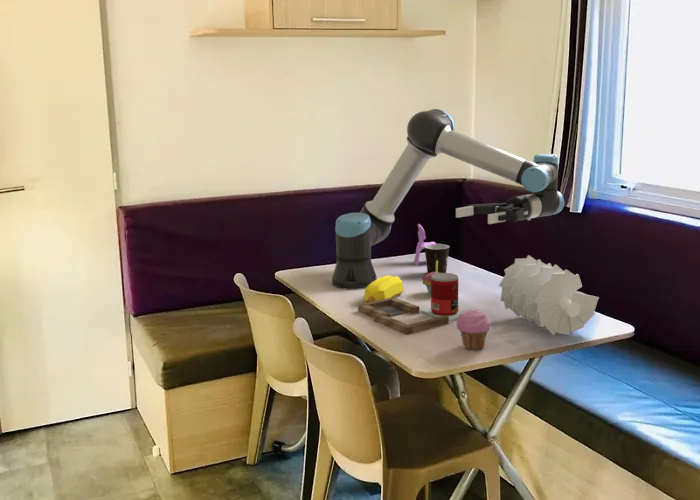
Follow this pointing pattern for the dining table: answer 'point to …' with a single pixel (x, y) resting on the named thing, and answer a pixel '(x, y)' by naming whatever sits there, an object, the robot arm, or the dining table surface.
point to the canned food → (444, 294)
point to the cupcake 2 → (473, 328)
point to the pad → (429, 312)
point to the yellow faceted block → (383, 288)
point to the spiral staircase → (546, 296)
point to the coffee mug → (436, 257)
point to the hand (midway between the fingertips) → (472, 216)
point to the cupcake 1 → (429, 279)
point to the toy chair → (421, 243)
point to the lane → (393, 307)
